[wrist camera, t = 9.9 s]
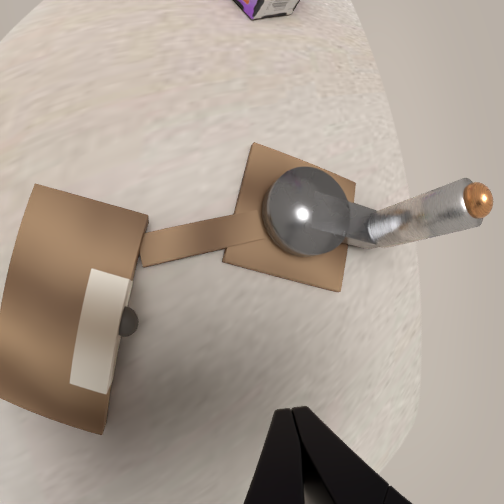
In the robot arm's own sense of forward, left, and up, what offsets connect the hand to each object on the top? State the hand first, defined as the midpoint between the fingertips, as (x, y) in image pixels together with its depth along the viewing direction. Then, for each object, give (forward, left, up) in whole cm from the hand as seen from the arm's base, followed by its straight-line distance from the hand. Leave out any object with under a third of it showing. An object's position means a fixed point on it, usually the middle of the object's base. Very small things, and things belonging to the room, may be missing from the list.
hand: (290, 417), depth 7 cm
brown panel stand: (+4, +2, -13) cm, 14 cm away
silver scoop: (+10, -6, -12) cm, 17 cm away
